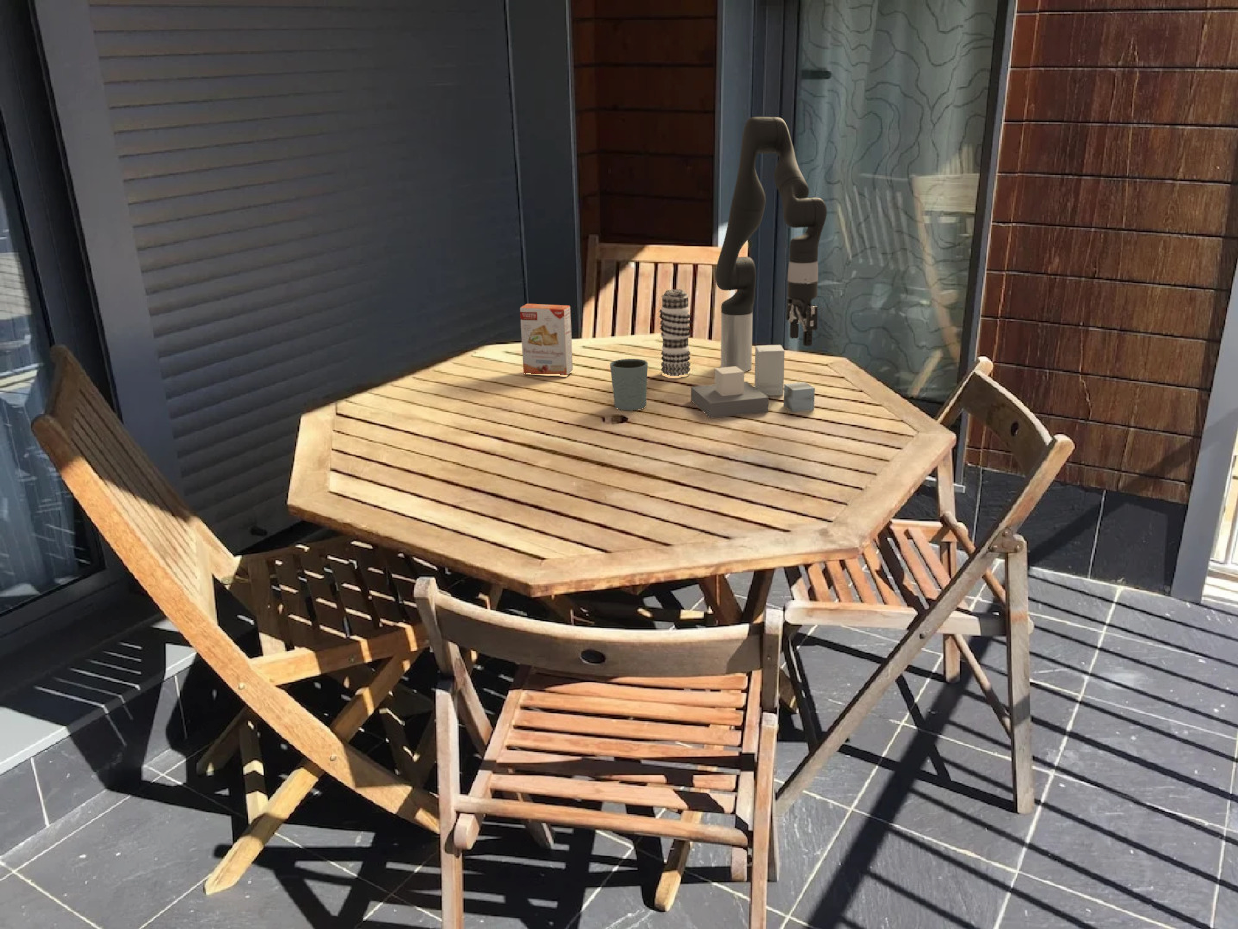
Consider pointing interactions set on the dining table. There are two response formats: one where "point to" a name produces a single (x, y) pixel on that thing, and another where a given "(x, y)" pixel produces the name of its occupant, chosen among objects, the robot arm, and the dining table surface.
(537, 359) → the cracker box
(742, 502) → the dining table surface
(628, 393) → the green cup
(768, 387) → the supplement box
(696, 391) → the plinth
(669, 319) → the decorative candle
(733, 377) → the white cube
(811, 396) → the grey cube
